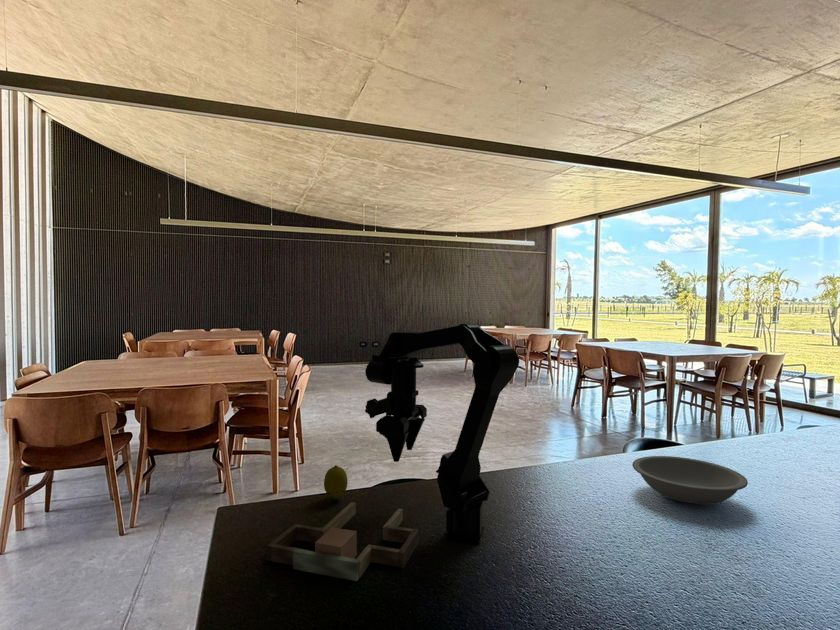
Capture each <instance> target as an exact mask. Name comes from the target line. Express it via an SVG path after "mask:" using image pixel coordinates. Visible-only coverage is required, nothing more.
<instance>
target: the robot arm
mask: <svg viewBox="0 0 840 630" xmlns="http://www.w3.org/2000/svg"><path fill="white" fill-rule="evenodd" d="M456 345H461V346H462V348H463V349H462V350H463V352H464V353H465V356H466V357H467V358H468V359H469V360H470V361H471V363H473V368H472V374H473V381H474V389H473V393H472V395H471V399H470V401H469V405H468V408H467V411H466V415H465V417H464V421H463V424H462V427H461V430H460V433H459V437H458V439H457V442H456V444H455V445H456V446H455V449H454V450H453V451H450V452H447V453H444V454H442V455H441V458H440V461H439V465H438V468H437V470H436V471H435V473H437V477H436V482H437V484H438V488H439V491H440V492H439V493H440V496H441V500H442V505H443V506H444V508H447V509H446V512H445V522H446V523H445V530H446V532H447V534H446V539H447V540H451V541H456V542H457V541H458V542H465V543H471V544H480V543H481V540H482V537H483V534H484V531H485V528H484V526H483V502H486V501H488V499H489V497H490V490H489V488H488V487H487V485H486V484H485V482H484V481H483V480H482V478H481V476H480V475H481V470H482V469H481V468H482V467H481V462H480V458H479V457H480V453H481V449H482V447H483V444H484V441H485V438H486V434H487V432H488V428H489V426H490V423H491V420H492V417H493V414H494V411H495V408H496V406H497V402H498V399H499V396H500V394H501V392H502V391H504V388H506V386H507V385H508V384H509V383H510V382H511V381H512V378H513V377H514V375H515V373H516V372H517V369H518V367H519V364H520V356H519V355H518V354H517V353H518V352H517V351H516V350H515V349H514V348H513V347H512V346H511V345H508V344H505V343H503V341H501V339H498V338H497V337H495V336H493V334H490V333H489V332H486V331H485V330H484V329H483V328H482V327H481V326H479V325H478V324H476V323H460V324H458V325H455V326H449V327H444V328H443V327H442V328H439V329H433V330H428V331H424V332H422V331H421V332H420V331H395V332H391V333H390V334H389V335H388V338H387V341H386V342H385V344H384V346H383V347H382V350H381V352H380V353H379V354H372V355H371V360H370V361H369V362H368V363H367V365H366V368H365V372H364V373H365V377H366V379H367V380H368V381H369V382H370V383H375V384H382V385H390V390H389V391H388V392H387V393H386V397H385V398H381V399H379V400H377V398H372V399H369V400H366V404H365V409H364V412H365V413H366V414H368V415H369V418H370V419H373V418H375V417H377V416H380V415H383V414H385V415H384V416H382V417H381V418H379V419H378V420H377V421H376V422H375V432H377V433H378V434H379V435H381V436H383V437H384V438H385V439H386V440H387V443H388V447H389V450H390V453H391V456H392V460H393V462H395V463H399V461H400V459H401V456H402V453H403V451H404V448H405V445H406V450H407V451H412V449H413V447H414V445H415V443H416V440H417V437H418V436H419V433H420V430H421V429H422V426H423V424H424V422H425V420H426V418H427V414H428V410H427V409H428V408H427V407H426V406H425V404H417V396H419V392H420V390H417V369H422V368H424V366H425V365H424V364H423V362H421V361H420V360H419V359H418V357H417V356H419V355H421V354H424V353H425V352H426V351H428V350H431V349H437V348H444V347H450V346H456Z"/></svg>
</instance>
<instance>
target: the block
mask: <svg viewBox="0 0 840 630" xmlns="http://www.w3.org/2000/svg"><path fill="white" fill-rule="evenodd" d="M357 531H358V530H351V529H345V528H341V529H340V528H334V527H332V528H331V529H330V530H329V531H327V532H326V533H325V534H324V535H323V536H322V537H321V538H320V539H319V540H318V541H316V542H315V543H314V552H319V553H325V554H331V555H336V556H342V557H348V558H353V559H356V558H357V557H356V556H357V555H358V553H357V551H358V549H357V546H358V543H357V542H358V541H357V540H358V539H357V537H358V536H357V534H358V532H357Z"/></svg>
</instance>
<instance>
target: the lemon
mask: <svg viewBox="0 0 840 630" xmlns="http://www.w3.org/2000/svg"><path fill="white" fill-rule="evenodd" d="M347 487H348V476H347V471H345V469H344V468H343V467H341V466H338V465H334V466H332V467H331V468H329V469H328V470H327V471H326V472H325V475H324V480H323V488H324V491H325V493H326V494H327V493H331V494H327V495H328V496H329V497H330V498H333V499H334V500H338V498H339V497H341V496H343V495H344V494H345V492H346V491H347ZM343 491H345V492H343ZM333 492H338V493H333Z"/></svg>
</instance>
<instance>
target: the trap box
mask: <svg viewBox="0 0 840 630" xmlns="http://www.w3.org/2000/svg"><path fill="white" fill-rule="evenodd" d="M356 504H357V503H356V502H353V501H351V502H350V503H349V504H348V505H346V506H345V507H344V508H343V509H342V510H341V511H340V512H339V513H338V514H336V515H335V516H334V517H333V518H332V519H330V521H328V522H327V523H326V524H325V525H324V526H323V527H316V526H311V525H304V524H300V523H299V524H298V523H294V524H293V525H291V527H289V528H288V529H287V530H285V531H283V532H282V533H281V534H280V535H279V536H277V537H276V538H275V539H274V540H272V541H271V542H270V543H269V544H267V545H266V561H268V562H274V563H279V564H285V565H290V566H292V569H293V570H296V571H297V570H298V571H302V572H307V573H313V574H317V575H323V576H327V577H328V576H329V577H333V578H338V579H345V580H350V581H354V582H358V580H359V579H360V578H361V577H362V575H363V574H364V573H365V571H366V570H367V568H369V566H370V565H371V563H375V564H380V565H385V566H389V567H390V566H391V567H396V568H402V569H404V568H405V566H406V564H407V563H408V561H409V560H410V558H411V557H412V555H413V553H414V551H415V550H416V548H417V547H418V545H419V543H420V542H419V538H420V535H419V533H420V529H416V528H409V527H401V526H400V525H401V524H402V522H404V520H403V518H404V515H403V514H404V509H403V508H399V507H398V508H397V509H396V511H395V512H394V513H393V514H392V515H391V517H390V518H389V519H388V520H387V521H386V523H385V524H384V525H383V526H382V541H387V542H393V543H399V544H402V546H401V548H400V549H398V548H394V547H393V548H392V547H387V546H382V545H381V546H380V545H374V544H369V543H368V544H367V545H366V547H365V548H364V549H363V550H362V552H361V553H360V554H359V555H358V556H357V557H356V558H354V559H353V558H348V557H342V556H336V555H331V554H325V553H319V552H315V550H314V551H312V550H309V549H308V550H307V549H303V548H298V547H292V546H291V545H292V544H293V543H294V542H295V541H300V542H301V541H302V542H308V543H314V544H315V542H316V541H318V540H319V539H320V538H321V537H322V536H323V535H324V534H325V533H326V532H327V531H329V530H330V529H331V528H332V527H334V528H340V529H343V528H342V527H344V526H345V525H346V524H347V523H348V522H349V521H350V520H351V519H352V518H353V517H354V516H355V515H356V510H357V508H356V507H357V505H356Z"/></svg>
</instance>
